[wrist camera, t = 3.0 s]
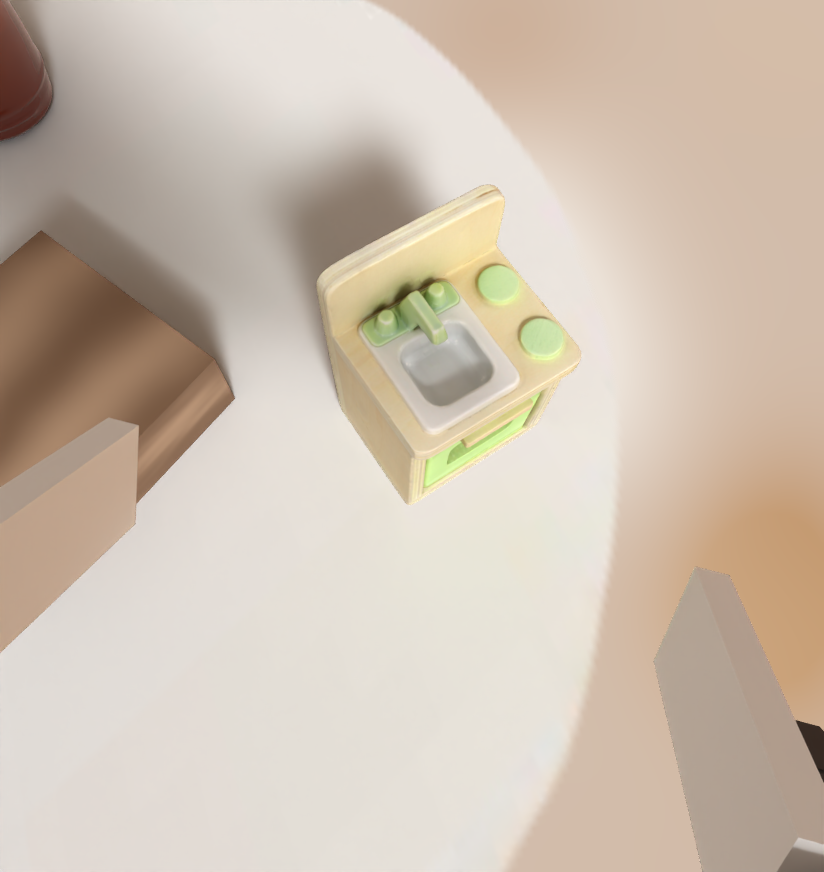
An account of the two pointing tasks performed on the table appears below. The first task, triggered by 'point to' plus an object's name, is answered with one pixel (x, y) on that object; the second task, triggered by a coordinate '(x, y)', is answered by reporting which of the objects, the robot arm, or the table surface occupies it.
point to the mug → (20, 77)
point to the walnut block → (93, 366)
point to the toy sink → (440, 344)
